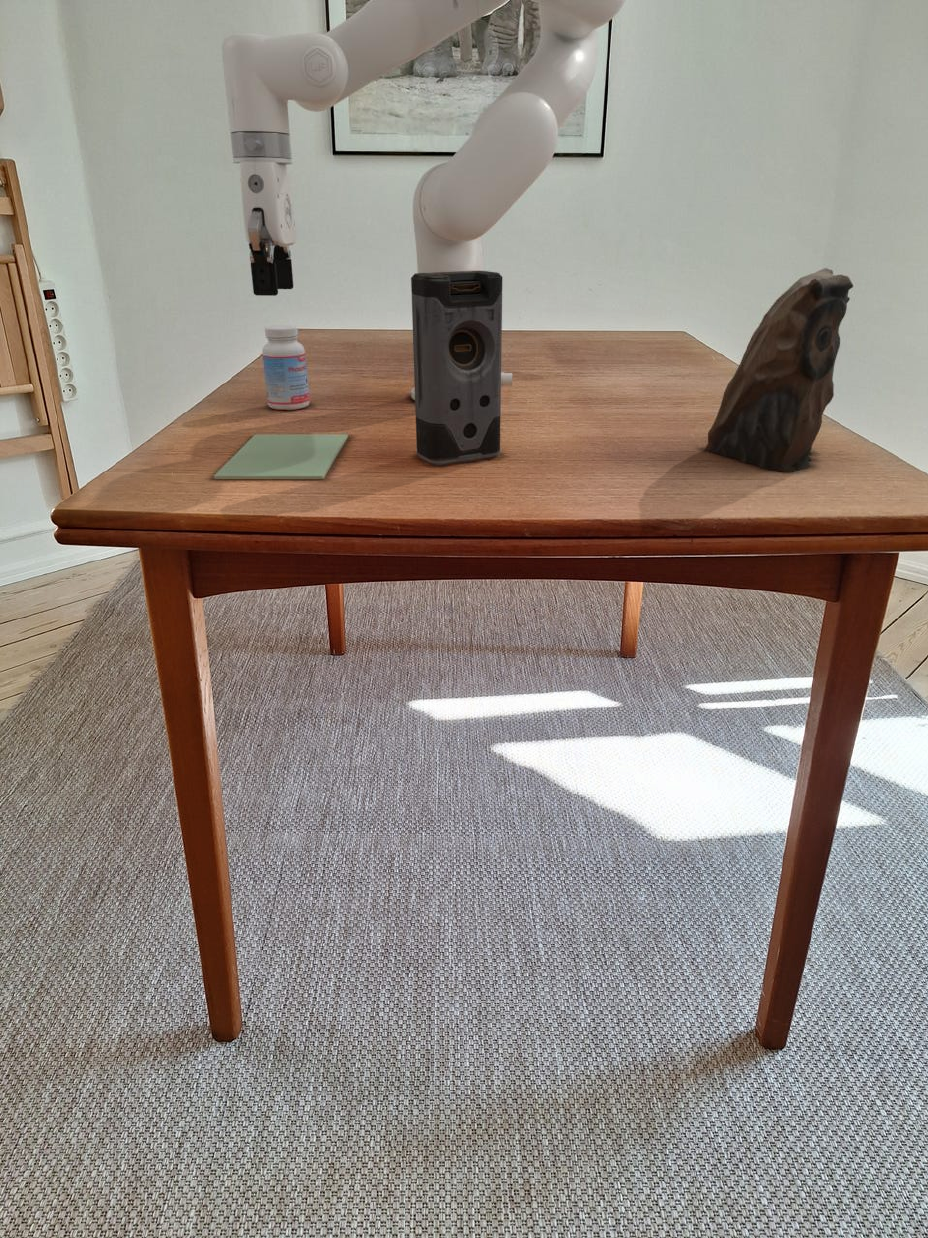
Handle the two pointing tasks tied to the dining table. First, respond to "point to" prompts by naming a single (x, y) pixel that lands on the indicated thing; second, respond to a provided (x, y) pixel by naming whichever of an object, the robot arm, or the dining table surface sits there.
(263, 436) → the side mat
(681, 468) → the dining table surface
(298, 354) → the pill bottle
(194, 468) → the dining table surface
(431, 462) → the electronic device
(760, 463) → the owl
